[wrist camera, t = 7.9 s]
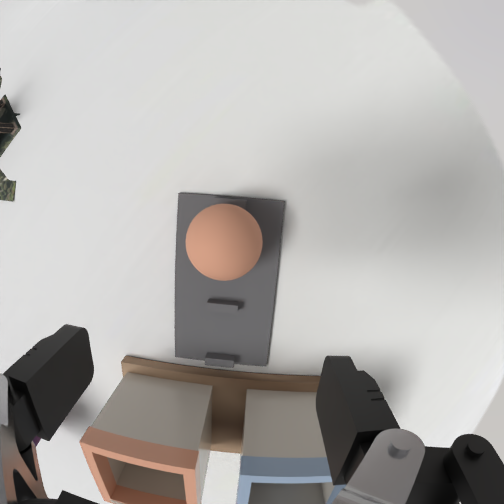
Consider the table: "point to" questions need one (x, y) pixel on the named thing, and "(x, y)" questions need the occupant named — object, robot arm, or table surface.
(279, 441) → the tube slate
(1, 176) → the eiffel tower figurine
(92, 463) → the tube terracotta
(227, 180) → the table surface
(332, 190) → the table surface
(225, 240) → the ball terracotta
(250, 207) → the mat
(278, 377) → the tube board
